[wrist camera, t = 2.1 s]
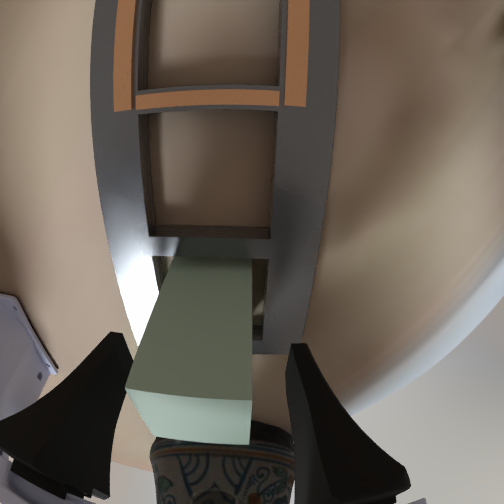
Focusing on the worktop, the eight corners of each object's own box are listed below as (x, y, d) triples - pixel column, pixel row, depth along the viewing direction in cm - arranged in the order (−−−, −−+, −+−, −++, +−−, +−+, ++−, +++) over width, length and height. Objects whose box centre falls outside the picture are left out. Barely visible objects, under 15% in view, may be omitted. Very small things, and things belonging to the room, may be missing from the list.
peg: (249, 316, 17) (249, 444, 10) (182, 313, 16) (153, 436, 10) (251, 258, 15) (252, 400, 8) (174, 256, 14) (124, 387, 8)
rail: (295, 339, 18) (298, 356, 16) (142, 332, 17) (137, 348, 16) (331, -34, 7) (339, -46, 6) (111, -24, 7) (99, -32, 6)
